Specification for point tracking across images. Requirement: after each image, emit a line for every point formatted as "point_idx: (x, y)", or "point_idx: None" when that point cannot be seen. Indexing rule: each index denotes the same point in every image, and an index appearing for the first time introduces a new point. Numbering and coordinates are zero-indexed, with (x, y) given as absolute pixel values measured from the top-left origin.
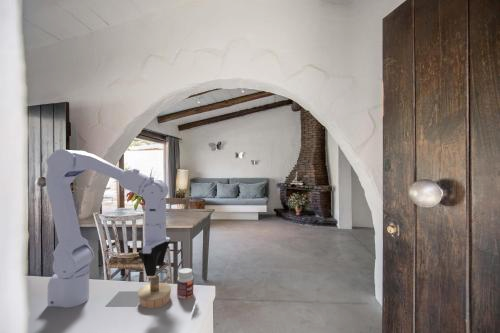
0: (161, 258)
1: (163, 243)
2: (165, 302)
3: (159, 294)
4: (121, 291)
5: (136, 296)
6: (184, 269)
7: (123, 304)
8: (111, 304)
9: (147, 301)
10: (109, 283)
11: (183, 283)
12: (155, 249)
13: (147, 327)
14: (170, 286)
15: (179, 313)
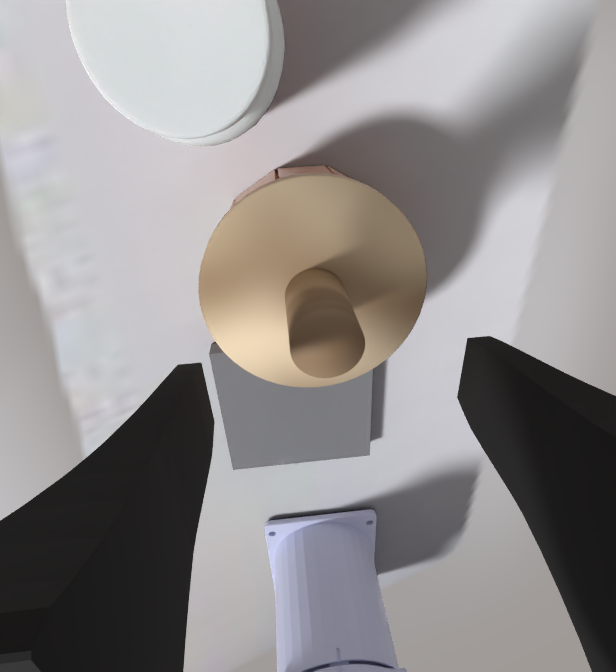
0: (189, 427)
1: (106, 662)
2: None
3: (385, 236)
4: (231, 461)
5: None
6: (133, 61)
7: (356, 398)
8: (355, 441)
9: None
10: None
11: (284, 42)
12: (176, 603)
13: (538, 204)
14: (252, 196)
15: (426, 43)
